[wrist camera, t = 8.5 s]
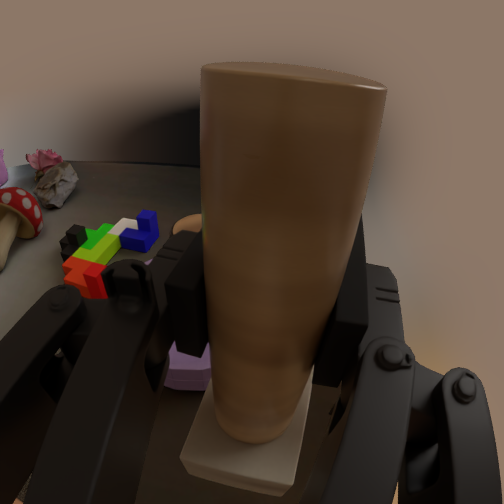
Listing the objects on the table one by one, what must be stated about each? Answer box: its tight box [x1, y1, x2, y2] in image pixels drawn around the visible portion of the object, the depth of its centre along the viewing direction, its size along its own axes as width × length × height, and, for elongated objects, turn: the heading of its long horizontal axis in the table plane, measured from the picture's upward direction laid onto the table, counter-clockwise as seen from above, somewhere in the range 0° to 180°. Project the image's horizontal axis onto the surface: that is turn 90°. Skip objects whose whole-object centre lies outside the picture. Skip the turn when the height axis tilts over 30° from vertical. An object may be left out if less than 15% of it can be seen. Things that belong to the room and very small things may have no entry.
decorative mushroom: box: [0, 187, 43, 272], centre depth 39 cm, size 11×11×15 cm
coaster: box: [173, 214, 202, 235], centre depth 49 cm, size 9×9×1 cm
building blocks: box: [59, 210, 159, 299], centre depth 41 cm, size 15×13×4 cm
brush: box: [180, 62, 387, 497], centre depth 9 cm, size 6×4×15 cm
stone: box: [33, 162, 79, 208], centre depth 53 cm, size 11×7×10 cm
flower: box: [26, 149, 63, 188], centre depth 61 cm, size 11×10×10 cm
